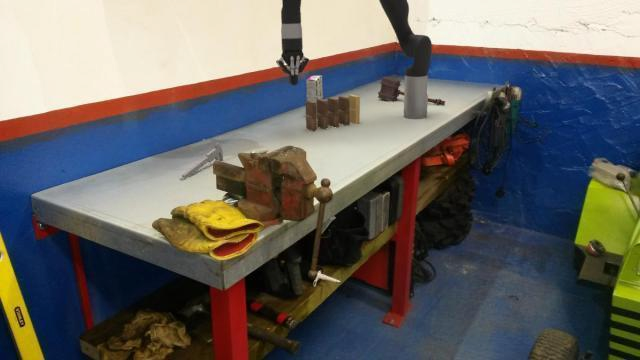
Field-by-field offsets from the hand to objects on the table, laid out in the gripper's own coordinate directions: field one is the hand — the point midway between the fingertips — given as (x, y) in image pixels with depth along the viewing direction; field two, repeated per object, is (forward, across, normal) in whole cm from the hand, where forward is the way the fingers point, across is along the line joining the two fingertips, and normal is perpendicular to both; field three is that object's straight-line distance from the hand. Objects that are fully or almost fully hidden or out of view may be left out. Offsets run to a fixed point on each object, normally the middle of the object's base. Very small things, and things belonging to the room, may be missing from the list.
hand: (293, 84), depth 188 cm
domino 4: (+18, -22, 0) cm, 29 cm away
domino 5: (+18, -27, 0) cm, 32 cm away
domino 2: (+18, -12, 0) cm, 22 cm away
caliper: (+19, +44, +23) cm, 53 cm away
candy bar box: (+18, -20, -20) cm, 34 cm away
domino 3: (+18, -17, 0) cm, 25 cm away
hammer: (+18, -72, -17) cm, 76 cm away
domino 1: (+18, -7, 0) cm, 19 cm away
